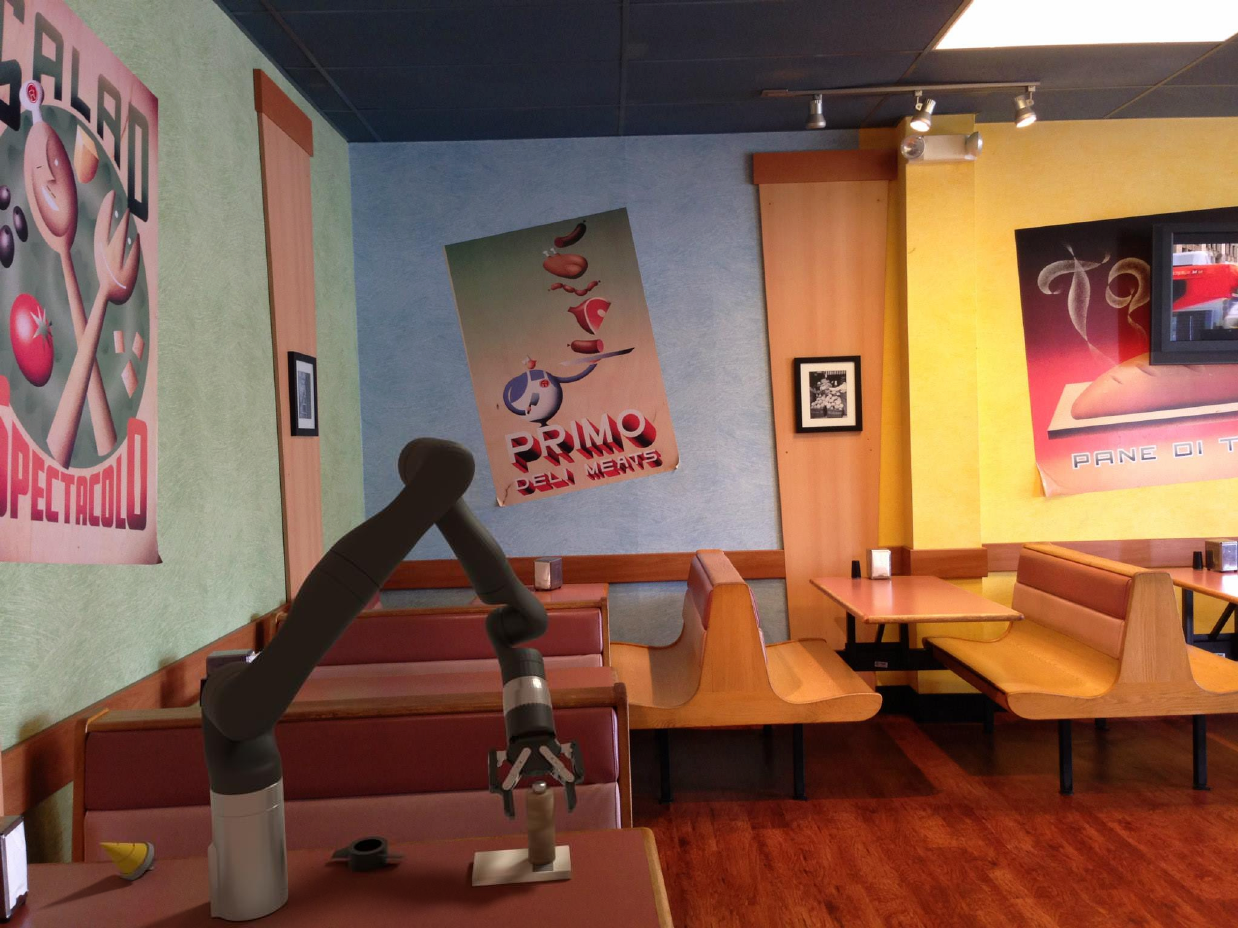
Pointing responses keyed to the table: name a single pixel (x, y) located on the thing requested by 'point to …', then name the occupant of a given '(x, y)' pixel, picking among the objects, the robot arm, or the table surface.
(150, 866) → the yellow party hat
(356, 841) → the black winged cup
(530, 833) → the wooden pepper mill
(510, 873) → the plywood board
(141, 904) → the table surface
